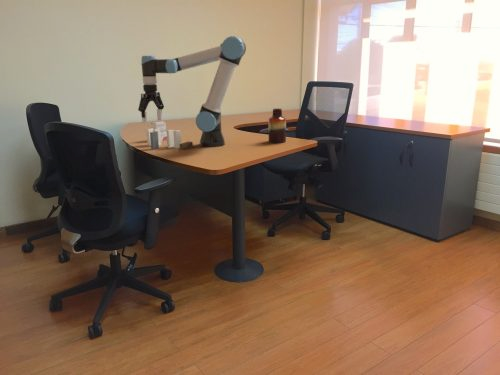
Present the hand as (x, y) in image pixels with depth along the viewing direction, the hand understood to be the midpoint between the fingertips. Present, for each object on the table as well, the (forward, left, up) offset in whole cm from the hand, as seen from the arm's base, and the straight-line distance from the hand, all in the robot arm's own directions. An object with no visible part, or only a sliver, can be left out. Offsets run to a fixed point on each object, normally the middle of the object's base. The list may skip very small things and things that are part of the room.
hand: (152, 121), depth 245 cm
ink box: (+15, -24, -16) cm, 33 cm away
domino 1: (+10, -9, -16) cm, 21 cm away
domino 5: (-10, -9, -16) cm, 21 cm away
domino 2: (+5, -9, -16) cm, 19 cm away
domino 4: (-5, -9, -16) cm, 19 cm away
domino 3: (0, 0, -16) cm, 16 cm away
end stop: (-16, -9, -16) cm, 24 cm away
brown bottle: (-58, -48, -16) cm, 77 cm away
